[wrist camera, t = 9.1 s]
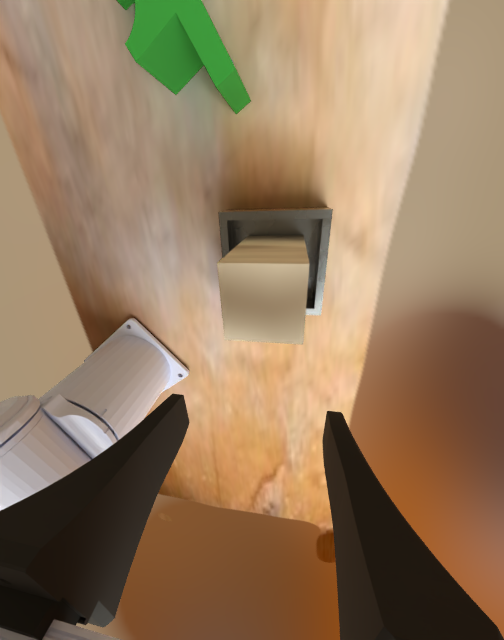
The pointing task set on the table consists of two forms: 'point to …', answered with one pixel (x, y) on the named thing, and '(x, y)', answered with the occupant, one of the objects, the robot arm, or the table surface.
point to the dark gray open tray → (285, 223)
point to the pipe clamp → (182, 47)
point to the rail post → (265, 289)
